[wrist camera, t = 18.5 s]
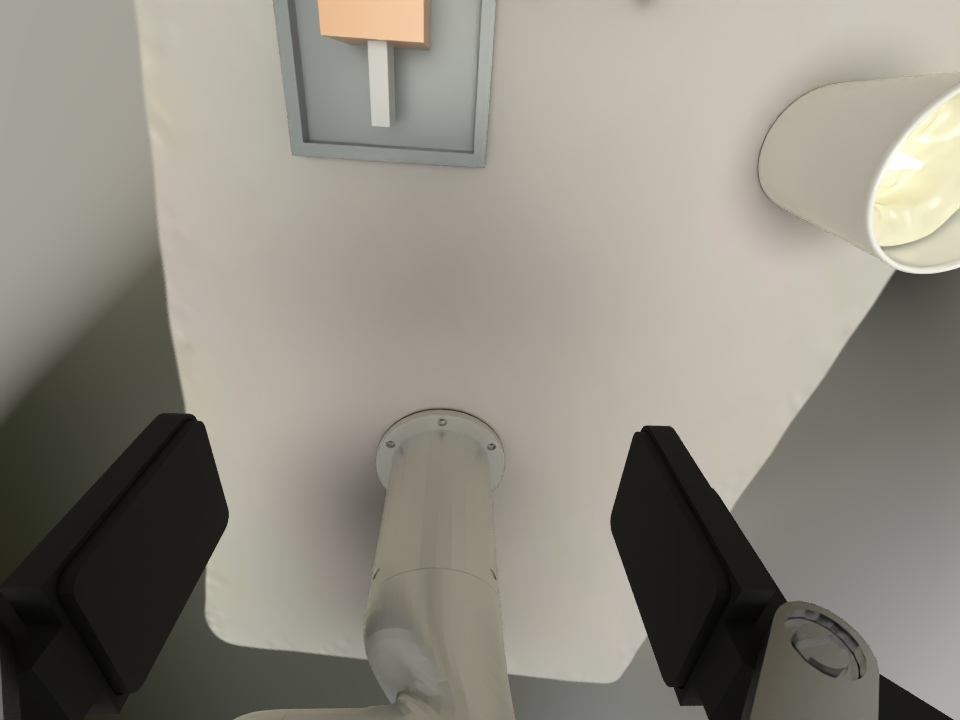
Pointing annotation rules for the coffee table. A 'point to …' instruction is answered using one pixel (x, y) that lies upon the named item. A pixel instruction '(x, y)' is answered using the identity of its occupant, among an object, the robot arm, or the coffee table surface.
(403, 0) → the peach slab with tab
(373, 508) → the coffee table surface
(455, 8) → the tray
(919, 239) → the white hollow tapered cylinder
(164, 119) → the coffee table surface
